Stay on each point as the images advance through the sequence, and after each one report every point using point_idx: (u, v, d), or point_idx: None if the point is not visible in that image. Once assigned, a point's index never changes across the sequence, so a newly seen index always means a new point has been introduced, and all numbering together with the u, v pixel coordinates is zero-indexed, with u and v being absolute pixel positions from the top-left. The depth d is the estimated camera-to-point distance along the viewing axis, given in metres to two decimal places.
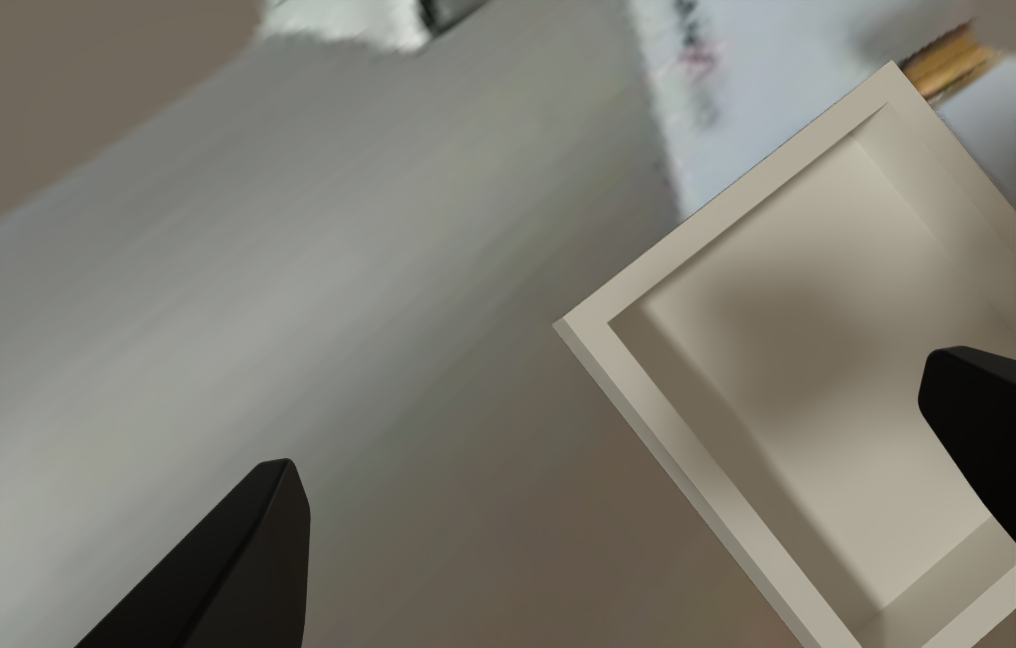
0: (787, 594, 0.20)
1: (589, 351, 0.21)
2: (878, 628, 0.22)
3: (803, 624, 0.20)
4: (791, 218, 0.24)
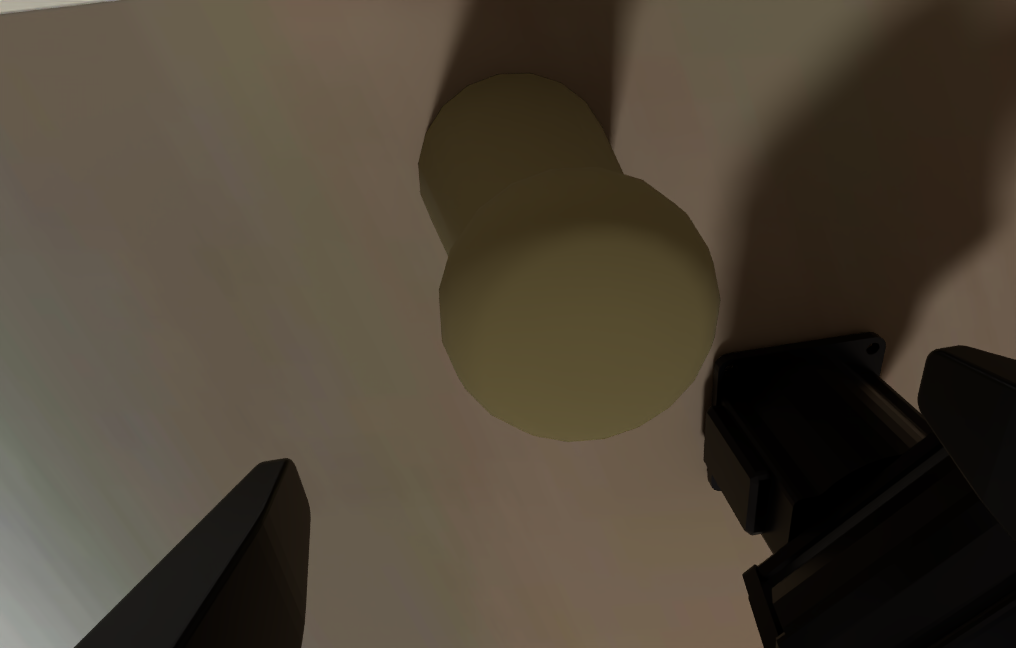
0: None
1: None
2: None
3: None
4: None
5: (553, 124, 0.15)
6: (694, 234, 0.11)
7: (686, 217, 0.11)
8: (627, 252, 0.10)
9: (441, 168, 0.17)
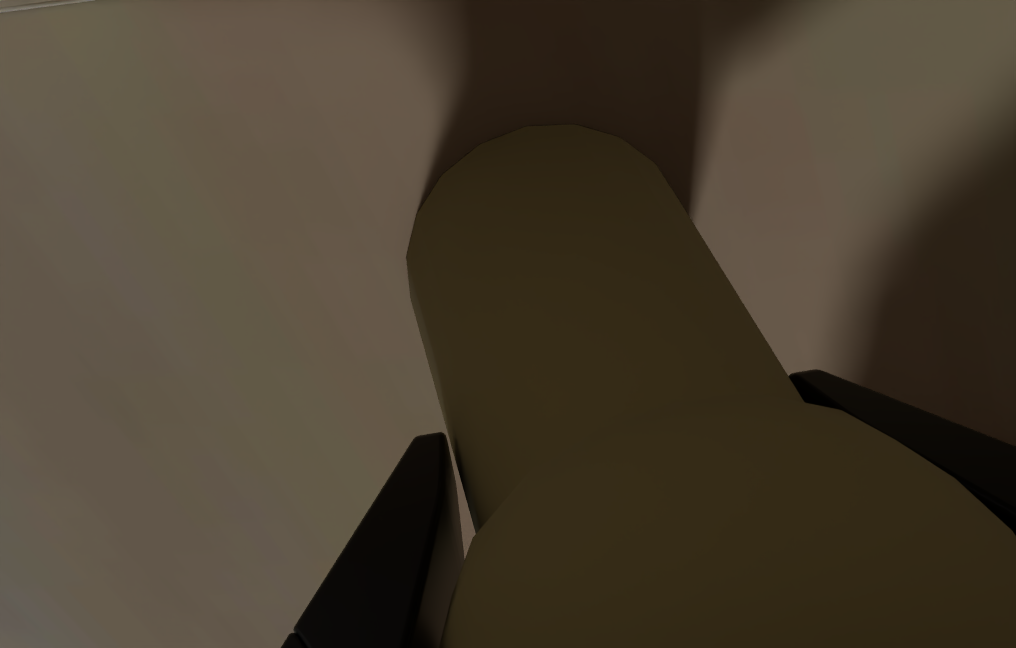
0: None
1: None
2: None
3: None
4: None
5: (634, 234, 0.09)
6: None
7: None
8: None
9: (440, 293, 0.10)
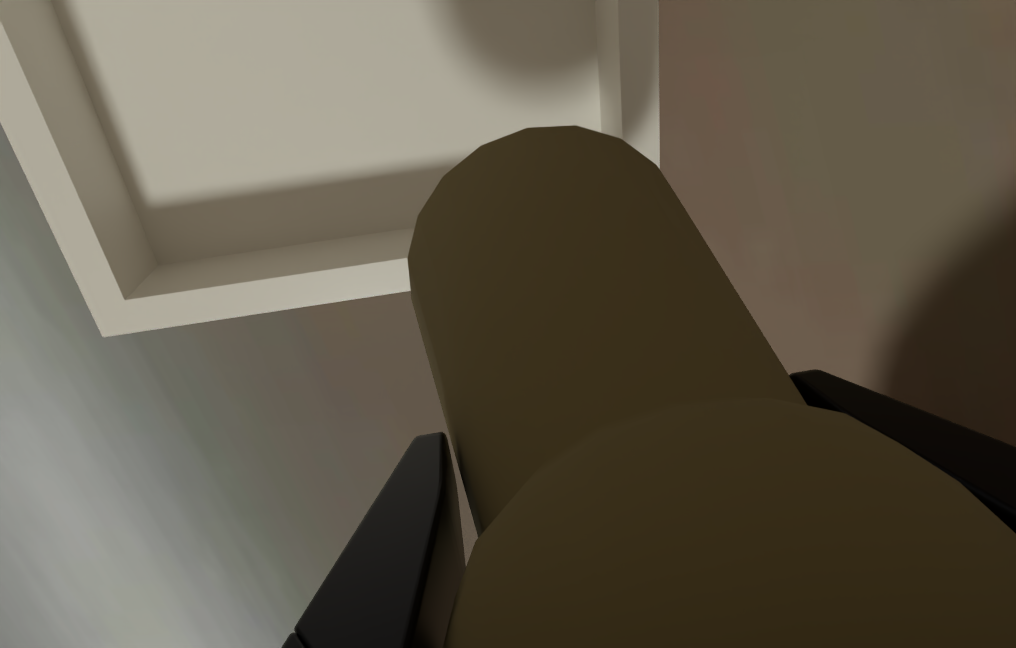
0: None
1: (152, 328, 0.18)
2: None
3: None
4: None
5: (635, 236, 0.09)
6: None
7: None
8: None
9: (441, 295, 0.10)
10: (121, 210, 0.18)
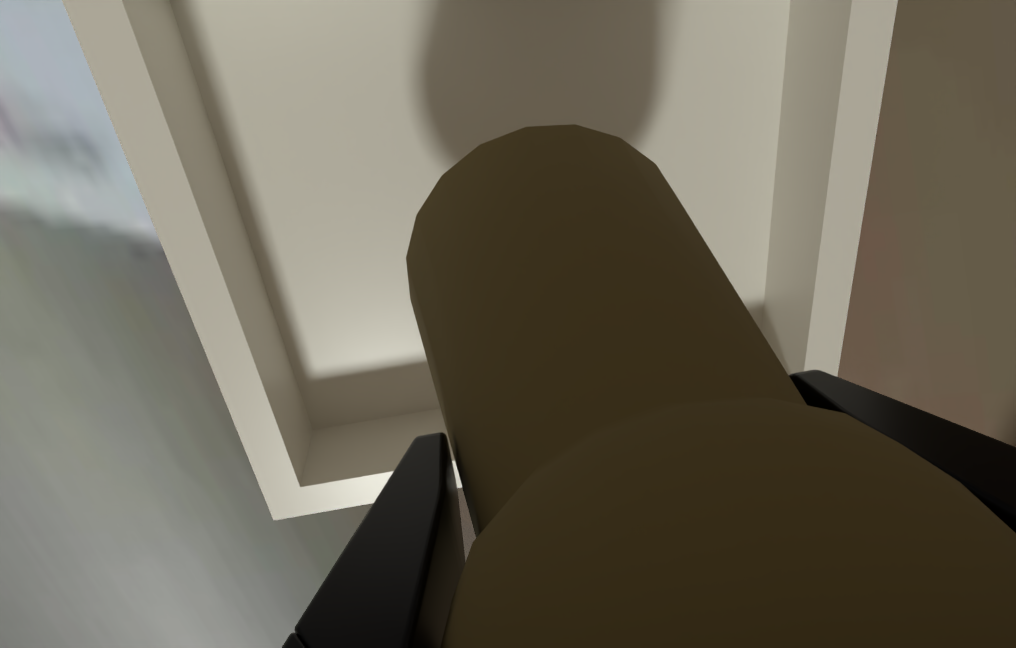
0: None
1: (323, 509, 0.18)
2: (771, 330, 0.19)
3: None
4: (278, 155, 0.16)
5: (634, 235, 0.09)
6: None
7: None
8: None
9: (440, 294, 0.10)
10: (289, 390, 0.18)
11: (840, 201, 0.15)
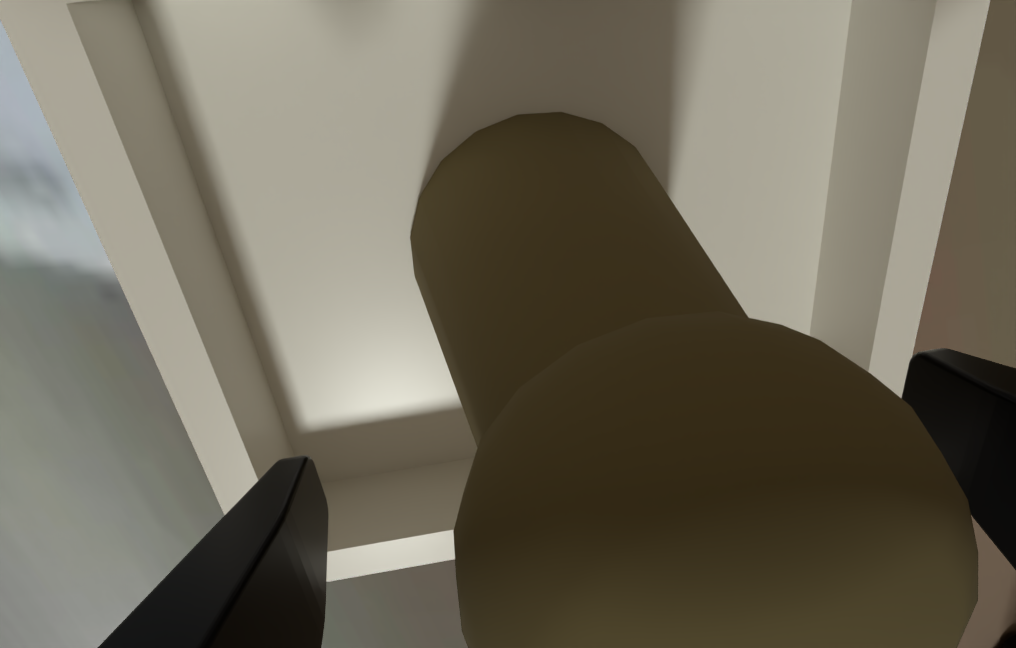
0: None
1: None
2: None
3: None
4: (264, 187, 0.14)
5: (613, 201, 0.10)
6: (943, 459, 0.06)
7: (917, 418, 0.06)
8: (846, 536, 0.05)
9: (443, 261, 0.12)
10: (278, 447, 0.16)
11: (908, 242, 0.13)
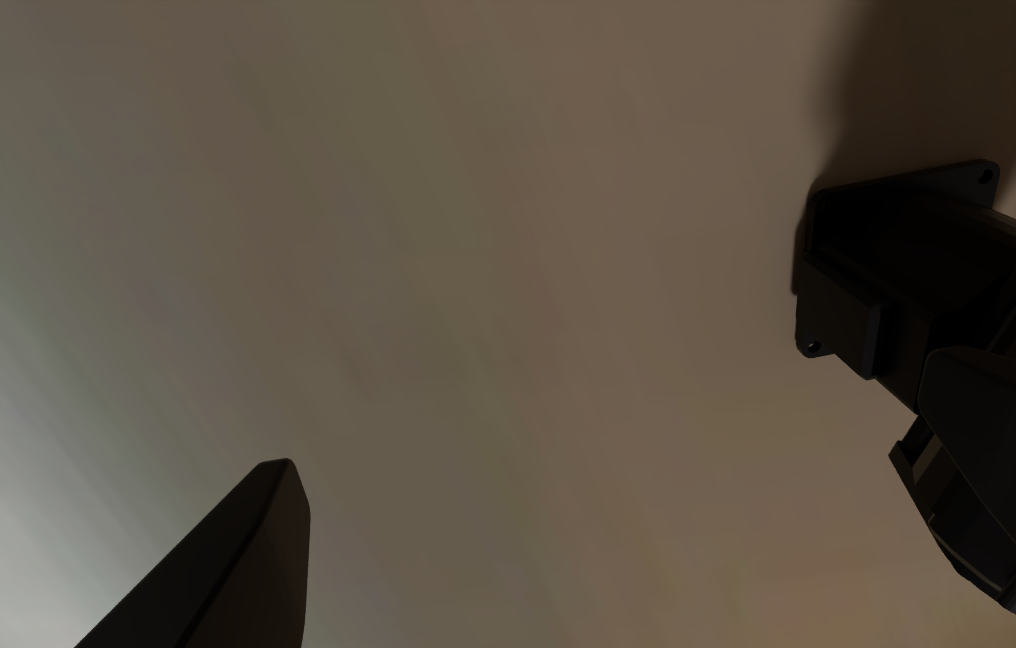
0: None
1: None
2: None
3: None
4: None
5: None
6: None
7: None
8: None
9: None
10: None
11: None
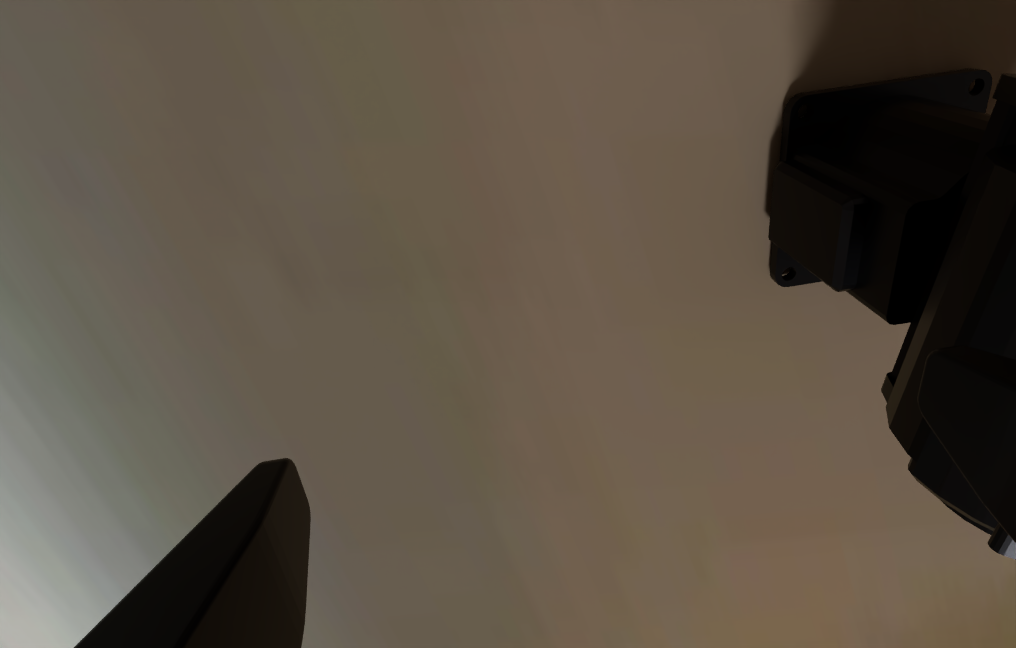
0: None
1: None
2: None
3: None
4: None
5: None
6: None
7: None
8: None
9: None
10: None
11: None
